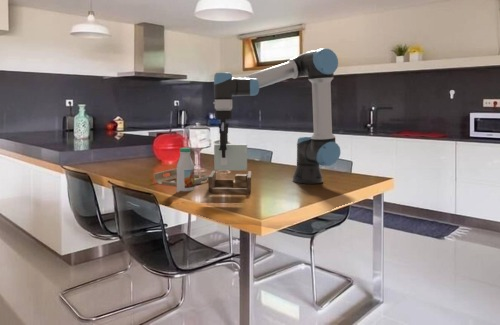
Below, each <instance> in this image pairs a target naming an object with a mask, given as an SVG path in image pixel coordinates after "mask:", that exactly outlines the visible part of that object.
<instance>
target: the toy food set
mask: <svg viewBox="0 0 500 325" xmlns="http://www.w3.org/2000/svg"><path fill="white" fill-rule="evenodd" d="M166 174H169V176H164V175H166ZM208 177H209V175H207V174H205V173H203V174H202V175H201V177H200V176H199V174H198V173H194V186H195V185H196V186H197V185H200V184H202V183H207V182H209V178H208ZM153 179H154V181H155V182H156V184H158V185H162V184H163V185H164V186H170V185H171V187H177V168H172V169H168V170H167V169H166V170H163V171H160V172H155V173H154V174H153Z"/></svg>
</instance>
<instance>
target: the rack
mask: <svg viewBox="0 0 500 325" xmlns="http://www.w3.org/2000/svg"><path fill="white" fill-rule="evenodd" d="M208 176H209V177H208V178H209V181H208V194H236V195H237V194H238V195H239V194H240V195H243V194H246V195H251V194H252V171H251V170H247V188H233V180H235V178H234V179H233V178H232V179H231V178H229V179H228V178H226V179H224V178H223V179H222V178H221V179H220V178H219V179H217V170H211V173H210V174H209V175H208ZM208 178H207V179H208Z"/></svg>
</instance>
